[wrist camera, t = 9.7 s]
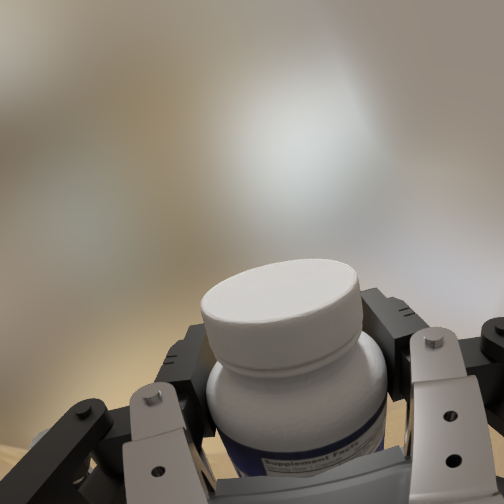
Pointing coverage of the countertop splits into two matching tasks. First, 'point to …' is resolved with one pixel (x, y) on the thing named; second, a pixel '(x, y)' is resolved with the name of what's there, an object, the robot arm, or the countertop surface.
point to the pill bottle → (294, 369)
